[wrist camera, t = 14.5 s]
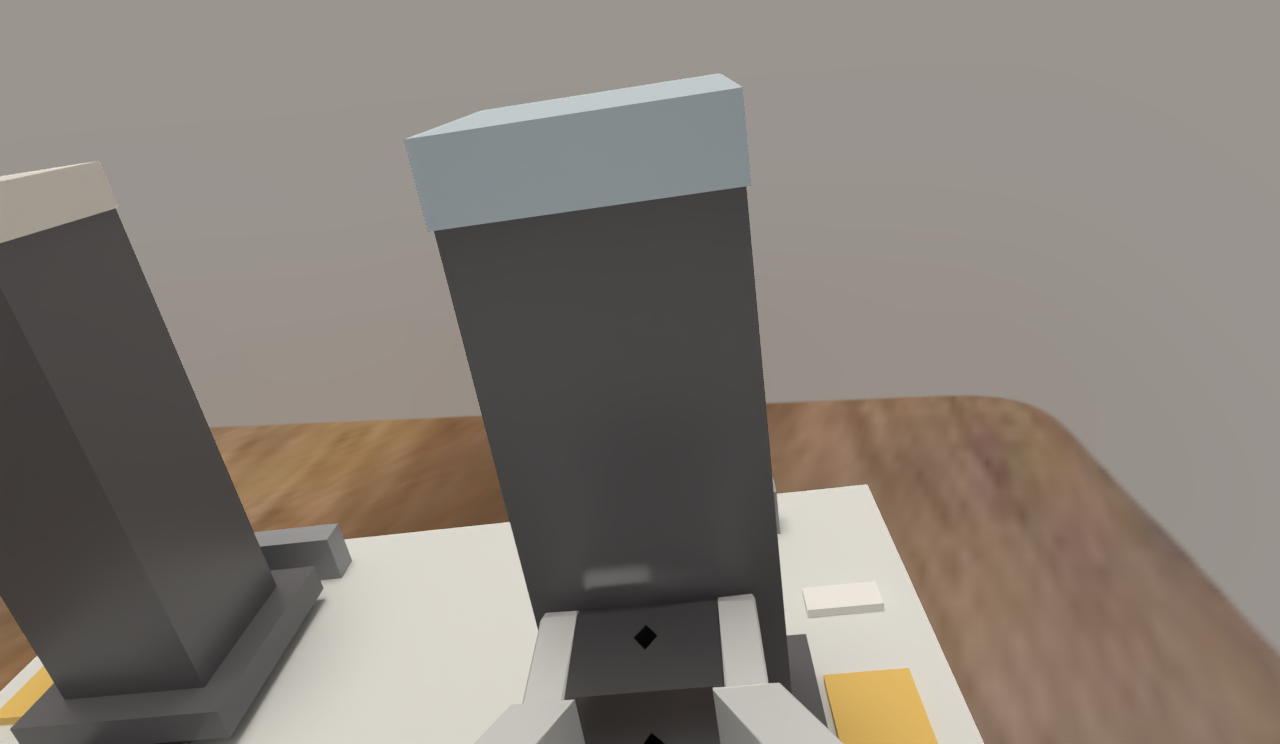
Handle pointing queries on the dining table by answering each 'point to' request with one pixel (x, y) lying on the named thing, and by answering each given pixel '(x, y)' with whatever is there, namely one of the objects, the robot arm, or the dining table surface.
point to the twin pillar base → (506, 633)
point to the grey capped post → (618, 346)
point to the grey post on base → (119, 493)
